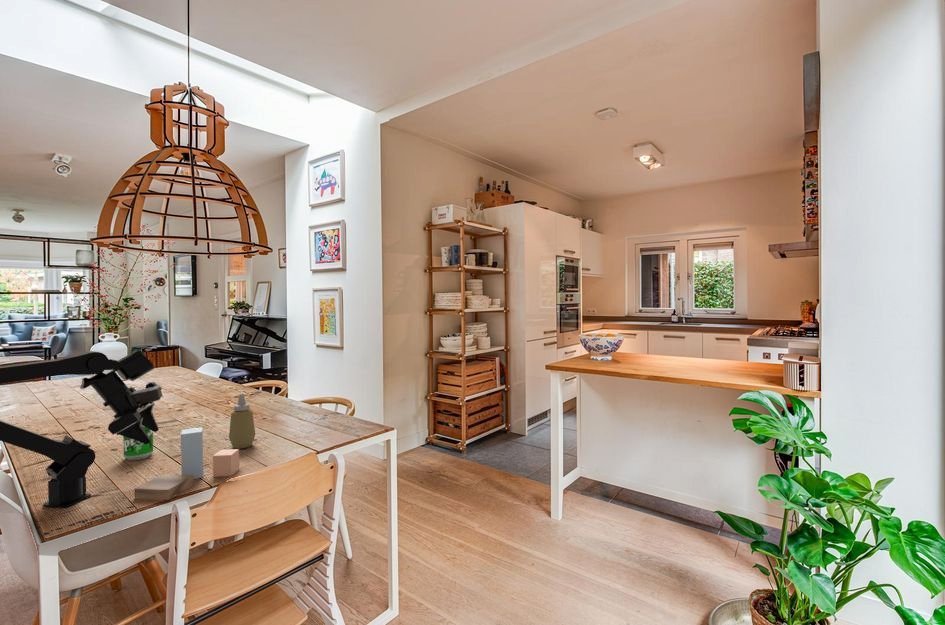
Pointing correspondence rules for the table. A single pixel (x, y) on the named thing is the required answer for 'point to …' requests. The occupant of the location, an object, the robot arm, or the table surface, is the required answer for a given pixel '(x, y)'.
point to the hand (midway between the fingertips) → (153, 436)
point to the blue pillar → (192, 452)
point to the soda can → (138, 447)
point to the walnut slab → (164, 487)
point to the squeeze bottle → (241, 425)
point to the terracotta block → (226, 462)
